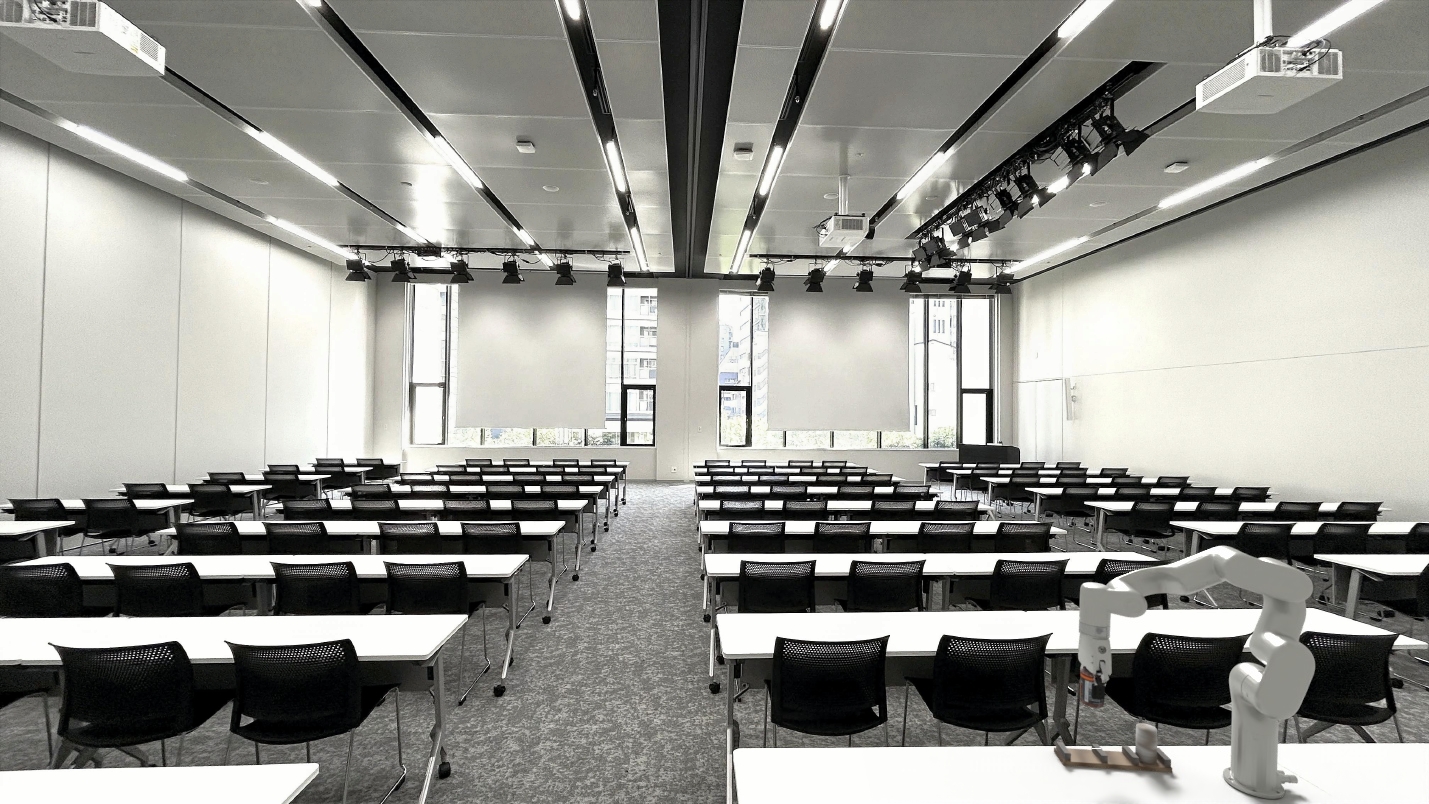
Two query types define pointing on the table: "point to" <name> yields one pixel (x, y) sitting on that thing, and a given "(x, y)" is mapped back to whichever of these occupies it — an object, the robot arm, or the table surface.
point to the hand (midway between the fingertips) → (1092, 692)
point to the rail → (1120, 754)
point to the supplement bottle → (1088, 689)
